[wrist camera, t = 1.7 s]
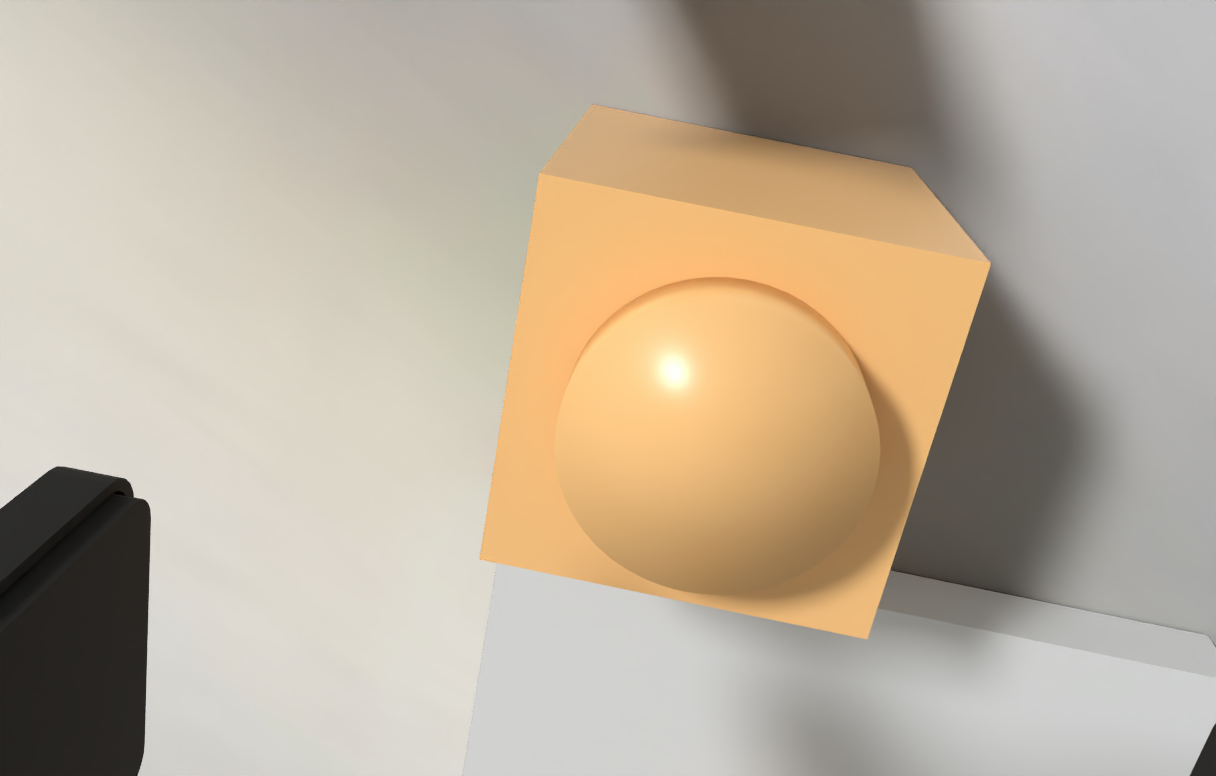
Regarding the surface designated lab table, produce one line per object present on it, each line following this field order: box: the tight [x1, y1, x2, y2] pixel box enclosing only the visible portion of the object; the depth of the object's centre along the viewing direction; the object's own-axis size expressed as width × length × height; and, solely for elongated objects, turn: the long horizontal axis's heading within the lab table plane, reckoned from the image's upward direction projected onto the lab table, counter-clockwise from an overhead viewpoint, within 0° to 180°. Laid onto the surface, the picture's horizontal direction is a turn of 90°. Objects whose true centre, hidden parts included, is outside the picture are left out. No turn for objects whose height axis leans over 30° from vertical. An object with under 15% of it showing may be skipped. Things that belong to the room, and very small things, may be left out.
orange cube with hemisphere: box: [480, 104, 991, 639], centre depth 17 cm, size 6×6×7 cm
